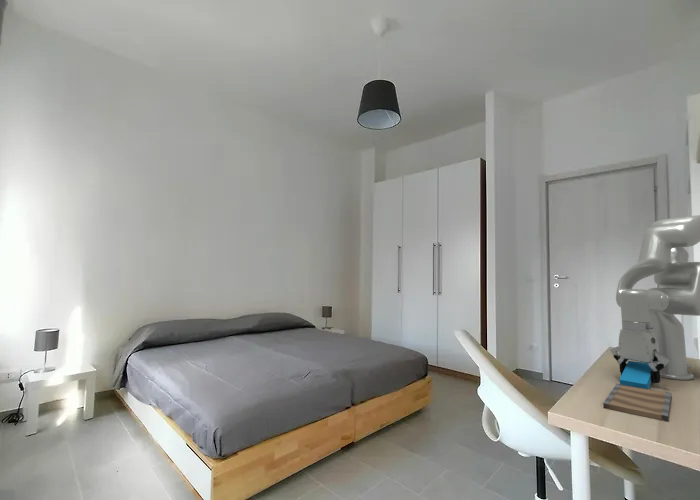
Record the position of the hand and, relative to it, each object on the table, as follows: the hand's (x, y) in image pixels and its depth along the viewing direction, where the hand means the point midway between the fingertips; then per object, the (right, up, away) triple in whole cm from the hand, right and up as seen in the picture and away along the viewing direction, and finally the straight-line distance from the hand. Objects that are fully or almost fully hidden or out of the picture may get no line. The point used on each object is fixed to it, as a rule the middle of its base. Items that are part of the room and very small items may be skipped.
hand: (639, 379), depth 116 cm
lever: (0, -2, 0) cm, 2 cm away
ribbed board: (-15, 0, -18) cm, 24 cm away
